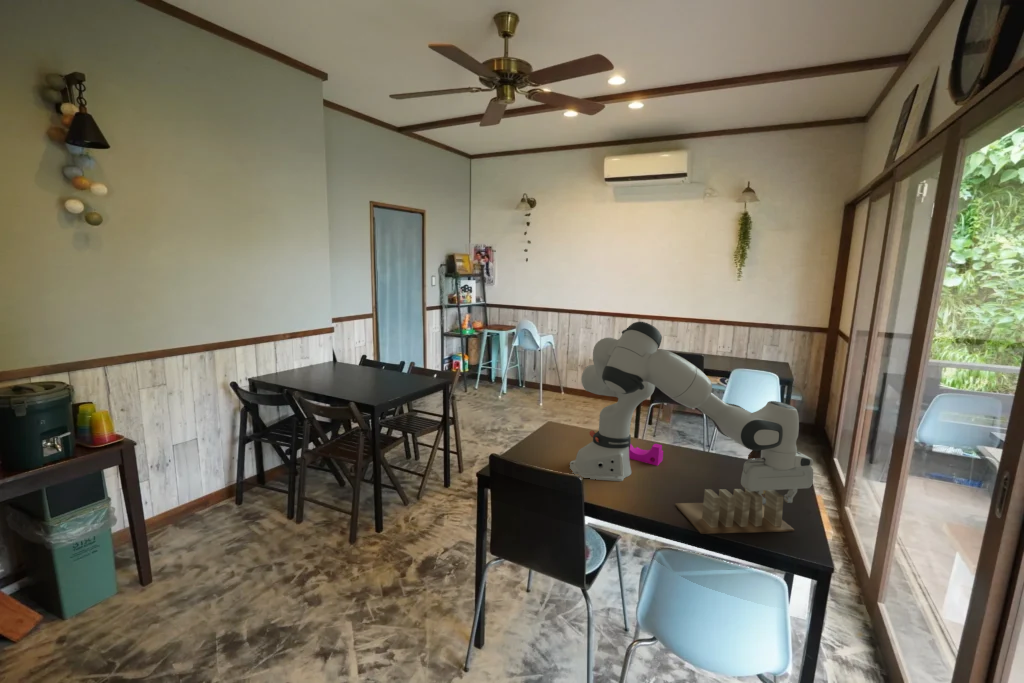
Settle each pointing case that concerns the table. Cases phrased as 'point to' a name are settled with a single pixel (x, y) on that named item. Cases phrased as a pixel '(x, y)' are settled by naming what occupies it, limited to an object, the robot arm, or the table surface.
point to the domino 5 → (773, 507)
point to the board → (695, 517)
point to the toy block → (647, 454)
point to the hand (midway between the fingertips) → (774, 502)
